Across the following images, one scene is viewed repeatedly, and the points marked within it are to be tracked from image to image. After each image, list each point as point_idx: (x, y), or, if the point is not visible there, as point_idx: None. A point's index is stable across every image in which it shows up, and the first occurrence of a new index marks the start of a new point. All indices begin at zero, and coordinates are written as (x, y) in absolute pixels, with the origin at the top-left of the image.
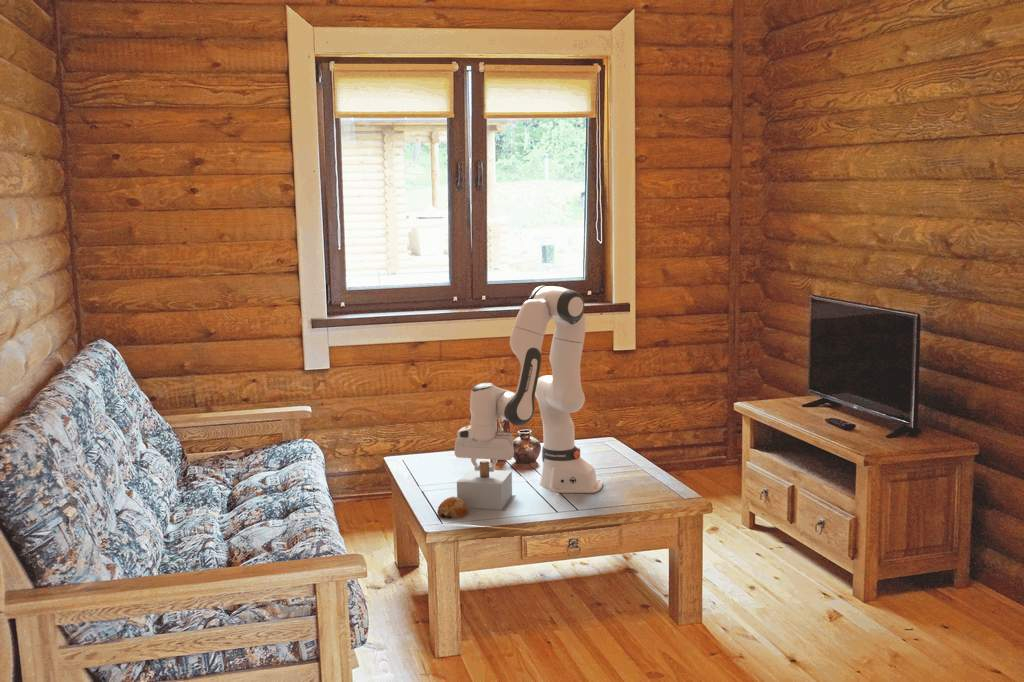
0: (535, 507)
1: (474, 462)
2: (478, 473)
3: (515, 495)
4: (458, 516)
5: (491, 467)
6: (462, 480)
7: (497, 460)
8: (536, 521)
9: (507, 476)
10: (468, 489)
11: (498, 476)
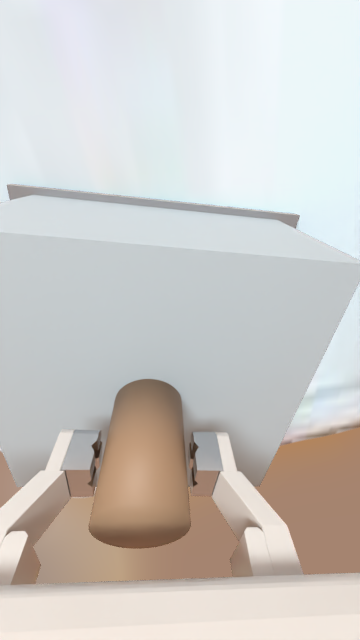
0: (355, 334)
1: (37, 534)
2: (80, 356)
3: (294, 216)
4: None
5: (212, 492)
6: (37, 470)
7: (287, 533)
8: (330, 430)
9: (307, 384)
10: None
11: (245, 395)
